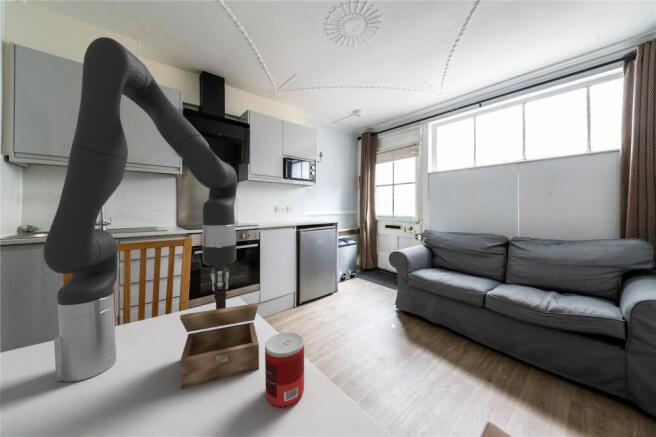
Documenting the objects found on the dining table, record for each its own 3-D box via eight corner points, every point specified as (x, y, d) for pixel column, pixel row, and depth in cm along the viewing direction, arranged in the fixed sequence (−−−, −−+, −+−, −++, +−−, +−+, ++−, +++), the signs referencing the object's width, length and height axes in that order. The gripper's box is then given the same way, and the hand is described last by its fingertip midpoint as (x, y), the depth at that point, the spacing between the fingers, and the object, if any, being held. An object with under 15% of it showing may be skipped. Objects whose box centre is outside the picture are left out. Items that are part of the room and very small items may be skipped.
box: (180, 389, 50) (180, 362, 50) (189, 356, 62) (188, 333, 61) (259, 369, 57) (258, 344, 56) (253, 342, 68) (253, 321, 68)
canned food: (310, 384, 52) (309, 335, 51) (292, 415, 44) (292, 357, 44) (279, 376, 54) (278, 329, 54) (257, 404, 47) (257, 349, 46)
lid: (179, 318, 53) (180, 314, 53) (187, 332, 61) (187, 328, 62) (258, 306, 59) (257, 302, 60) (254, 320, 68) (254, 316, 68)
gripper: (204, 240, 63) (206, 304, 64) (199, 248, 51) (201, 327, 52) (234, 238, 66) (236, 300, 67) (237, 246, 54) (238, 321, 55)
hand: (221, 312), depth 59 cm, fingers closed
